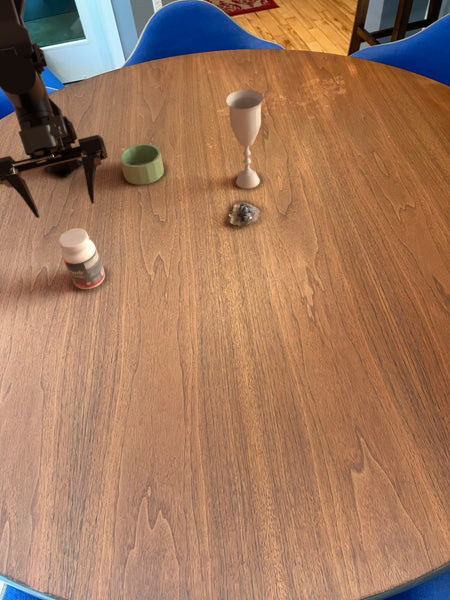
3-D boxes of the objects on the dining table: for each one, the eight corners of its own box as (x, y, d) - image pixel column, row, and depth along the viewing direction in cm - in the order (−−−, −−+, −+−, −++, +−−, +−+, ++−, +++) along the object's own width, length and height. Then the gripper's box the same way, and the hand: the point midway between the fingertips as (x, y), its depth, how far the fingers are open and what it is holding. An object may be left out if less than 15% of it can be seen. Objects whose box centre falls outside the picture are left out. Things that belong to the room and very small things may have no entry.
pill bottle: (67, 283, 85) (47, 242, 78) (88, 263, 88) (72, 221, 81) (91, 294, 83) (73, 253, 76) (112, 273, 86) (97, 232, 78)
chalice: (261, 192, 98) (260, 109, 85) (228, 190, 100) (222, 108, 86) (266, 172, 103) (266, 90, 89) (235, 170, 104) (230, 88, 91)
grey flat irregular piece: (230, 231, 91) (229, 223, 90) (222, 206, 96) (221, 198, 95) (264, 225, 92) (264, 217, 90) (255, 200, 97) (254, 192, 96)
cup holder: (116, 177, 105) (111, 160, 102) (141, 157, 110) (137, 139, 107) (147, 189, 102) (142, 171, 98) (171, 167, 106) (168, 149, 103)
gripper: (-41, 114, 69) (-6, 218, 71) (87, 86, 72) (118, 186, 74) (-17, 137, 80) (13, 227, 82) (93, 111, 83) (120, 199, 85)
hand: (65, 210), depth 80 cm, fingers open, 9 cm apart
